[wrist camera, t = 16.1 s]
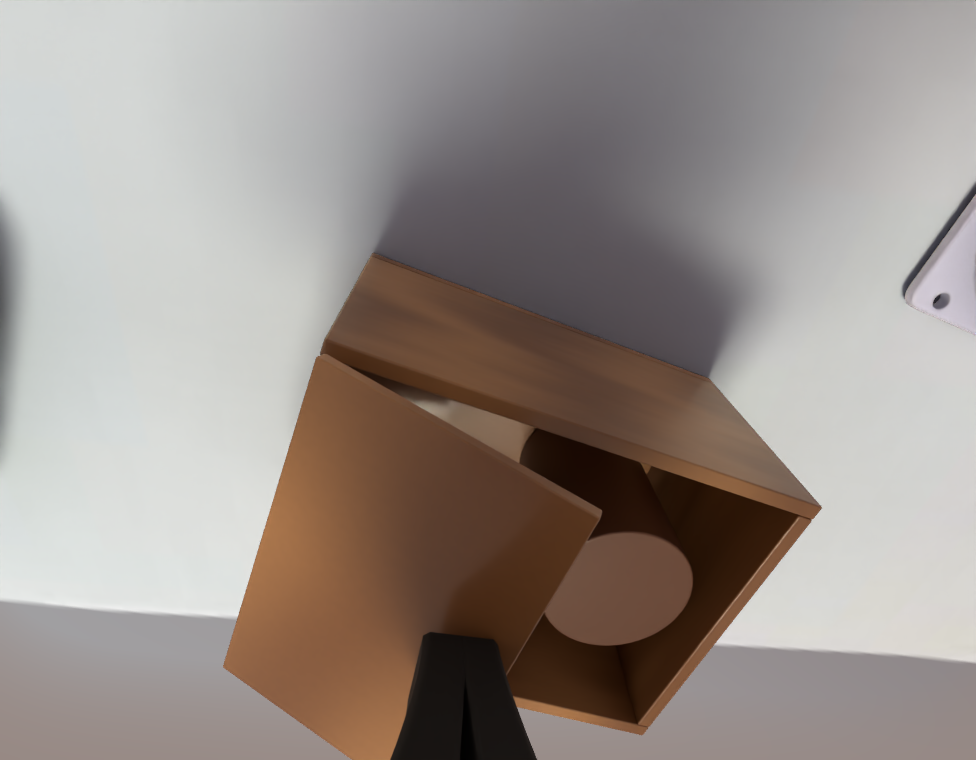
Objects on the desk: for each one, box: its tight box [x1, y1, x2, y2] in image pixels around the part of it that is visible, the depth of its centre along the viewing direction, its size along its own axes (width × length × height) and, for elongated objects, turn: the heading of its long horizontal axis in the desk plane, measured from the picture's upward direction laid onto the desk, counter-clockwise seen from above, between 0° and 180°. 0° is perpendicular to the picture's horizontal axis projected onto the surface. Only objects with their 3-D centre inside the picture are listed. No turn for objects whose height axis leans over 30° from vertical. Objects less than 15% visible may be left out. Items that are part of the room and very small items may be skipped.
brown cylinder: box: [520, 429, 693, 646], centre depth 18 cm, size 4×4×6 cm
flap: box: [223, 354, 602, 760], centre depth 12 cm, size 6×9×1 cm, turn 158°
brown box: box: [320, 253, 822, 735], centre depth 17 cm, size 12×9×7 cm
